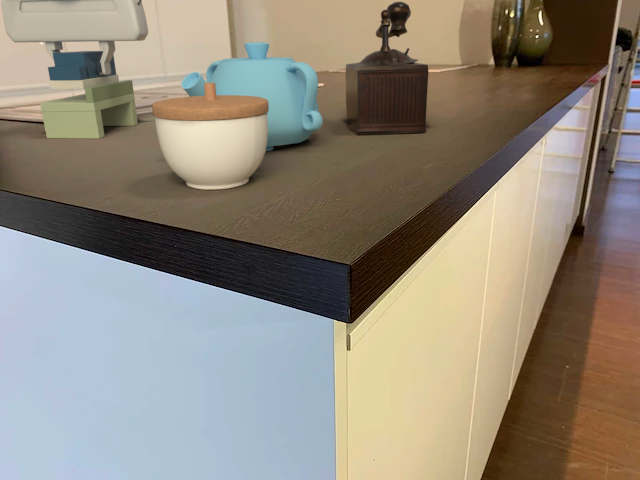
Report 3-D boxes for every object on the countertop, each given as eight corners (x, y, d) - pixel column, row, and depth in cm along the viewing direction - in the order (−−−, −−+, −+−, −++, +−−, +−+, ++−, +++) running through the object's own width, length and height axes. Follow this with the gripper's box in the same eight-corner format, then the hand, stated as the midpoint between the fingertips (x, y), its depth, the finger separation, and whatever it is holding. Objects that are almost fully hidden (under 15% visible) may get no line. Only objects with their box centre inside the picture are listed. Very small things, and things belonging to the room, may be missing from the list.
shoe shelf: (46, 138, 77) (36, 88, 75) (92, 124, 89) (85, 80, 87) (99, 138, 77) (91, 87, 74) (138, 124, 89) (132, 80, 86)
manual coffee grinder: (431, 132, 77) (439, -5, 71) (355, 135, 76) (357, -4, 70) (403, 117, 92) (408, 2, 85) (339, 119, 90) (339, 3, 84)
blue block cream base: (89, 82, 86) (84, 51, 84) (119, 82, 86) (114, 50, 84) (50, 89, 76) (43, 53, 74) (83, 89, 75) (77, 52, 74)
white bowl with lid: (217, 164, 60) (209, 77, 57) (293, 177, 54) (290, 80, 51) (138, 186, 52) (124, 85, 48) (218, 203, 46) (209, 90, 43)
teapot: (355, 141, 72) (356, 40, 67) (253, 171, 57) (246, 44, 52) (247, 128, 83) (242, 41, 78) (138, 151, 68) (123, 44, 63)
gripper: (148, -28, 77) (160, 72, 82) (15, -25, 79) (34, 73, 84) (129, -33, 71) (143, 75, 76) (-14, -29, 73) (8, 76, 78)
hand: (85, 74), depth 80 cm, fingers closed on blue block cream base, 4 cm apart
